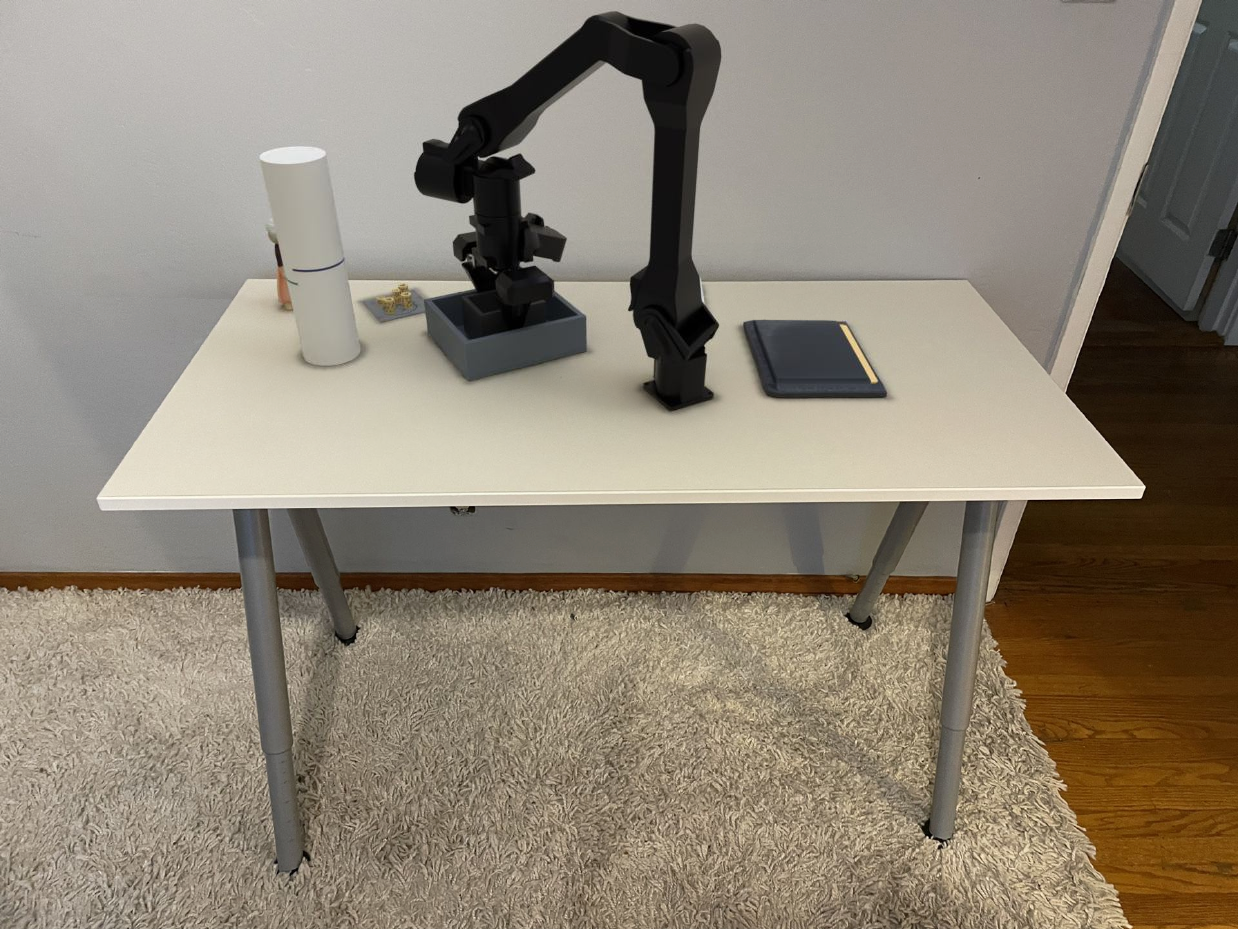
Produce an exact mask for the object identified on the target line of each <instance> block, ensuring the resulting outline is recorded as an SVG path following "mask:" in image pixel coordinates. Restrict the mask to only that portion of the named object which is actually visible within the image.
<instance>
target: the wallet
mask: <svg viewBox="0 0 1238 929" xmlns="http://www.w3.org/2000/svg"><path fill="white" fill-rule="evenodd" d="M742 328H743V331H744V334H745V337H746V340H747V343H748V345H749V348H750V351H751V353H752V356H753V359H754V362H755V364H756V368H757V372H758V374H759V378H760V382H761V385H762V388H763V390H764V392H765V394H766V395H768V396H771V397H775V398H887V396H888V392H887V390H886V389H887V388H886V387H885V385H884V383H883V382H882V379H880V377H879V376H878V374H877V373H876V371H875V369H874V367H873V365H872V364H871V362H870V361H869V358H868V357H867V355H866V353H865V351H864V350H863V348H862V347H861V345H860V343H859V341H858V340H857V337H856V336H855V334H854V333H853V331H852V329H851V328H850V326H849V323H847V321H846V320H845V321H843V320H842V321H841V320H839V321H837V320H831V319H830V320H827V319H826V320H825V319H824V320H823V319H822V320H821V319H819V320H818V319H751V320H746V321H743V324H742Z"/></svg>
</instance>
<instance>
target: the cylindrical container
mask: <svg viewBox="0 0 1238 929" xmlns="http://www.w3.org/2000/svg"><path fill="white" fill-rule="evenodd" d="M258 157H259V158H258V160H259V162H260V167H261V172H262V176H263V181H264V185H265V189H266V194H267V198H268V203H269V208H270V212H271V218H272V217H273V221H274V226H275V230H276V235H277V239H278V244H279V248H280V253H281V257H282V262H283V266H284V271H285V275H286V280H287V284H288V289H289V293H290V298H291V302H292V307H293V310H292V311H293V315H294V320H295V325H296V329H297V334H298V338H299V343H300V347H301V352H302V356H303V359H304V361H305V362H307V363H309V364H310V365H314V366H318V367H319V366H320V367H330V366H331V367H332V366H338V365H343V364H345V363H349V362H351V361H353V360H355V359H356V358H357V357H358V356H360V354H361V351H362V350H361V344H360V343H361V342H360V339H359V338H360V337H359V332H358V327H357V321H356V315H355V310H354V303H353V299H352V292H351V286H350V281H349V276H348V270H347V265H346V258H345V253H344V247H343V242H342V235H341V231H340V225H339V224H340V223H339V219H338V214H337V209H336V203H335V196H334V191H333V185H332V181H331V179H332V178H331V174H330V168H329V162H328V157H327V152H326V151H325V150H324V149H322V148H320V147H315V146H306V145H295V146H294V145H293V146H286V147H285V146H284V147H283V146H282V147H277V148H272V149H269V150H265V151H264V152H262V153H261V154H259V156H258Z"/></svg>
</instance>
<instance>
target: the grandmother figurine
mask: <svg viewBox="0 0 1238 929" xmlns="http://www.w3.org/2000/svg"><path fill="white" fill-rule="evenodd" d="M265 229H266V231H267V237H268V239H269V240H270V241H271V242H272V243H273V244H274V255H275V259H276V265H277V268H276V292H277V300H278V302H279V303H280V304H282V303H284V304H283V309H284V310H286V311H293V307H292V302H291V298H290V293H289V289H288V284H287V280H286V275H285V271H284V266H283V262H282V257H281V253H280V248H279V244H278V239H277V235H276V230H275V226H274V221H273V217H272V216H271V217H269V218H268V219H267V220H266V222H265Z"/></svg>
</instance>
